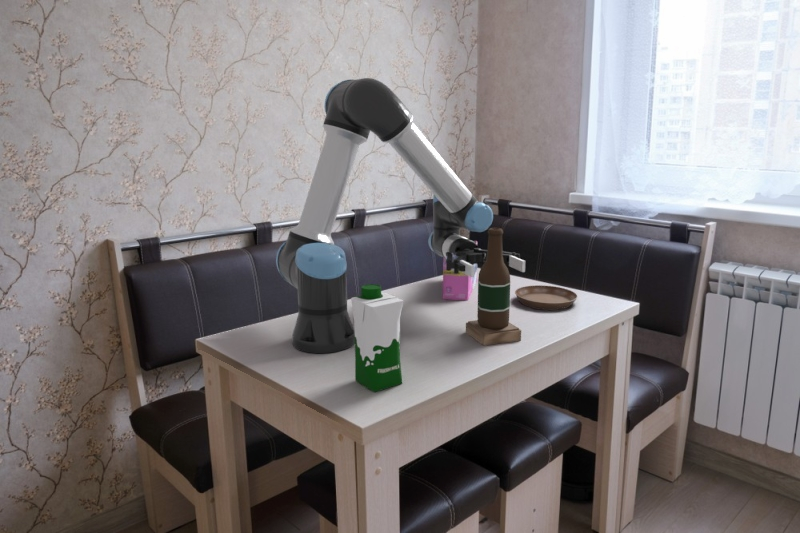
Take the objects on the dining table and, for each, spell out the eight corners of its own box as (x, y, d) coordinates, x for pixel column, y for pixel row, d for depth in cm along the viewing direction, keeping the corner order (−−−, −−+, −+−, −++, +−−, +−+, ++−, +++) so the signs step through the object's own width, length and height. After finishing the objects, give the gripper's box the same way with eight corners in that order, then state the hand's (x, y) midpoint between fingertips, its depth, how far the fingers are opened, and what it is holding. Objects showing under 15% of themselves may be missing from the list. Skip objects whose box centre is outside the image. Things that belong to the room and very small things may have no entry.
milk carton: (383, 370, 137) (382, 280, 132) (408, 384, 130) (408, 290, 125) (349, 380, 132) (346, 287, 127) (373, 395, 125) (371, 298, 120)
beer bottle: (510, 321, 159) (513, 226, 153) (507, 330, 152) (510, 232, 146) (479, 318, 161) (481, 225, 155) (474, 328, 154) (476, 230, 148)
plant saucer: (588, 302, 185) (589, 292, 184) (556, 316, 172) (556, 305, 172) (536, 291, 197) (536, 281, 196) (502, 303, 184) (502, 293, 184)
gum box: (454, 279, 211) (454, 239, 208) (478, 280, 209) (479, 240, 206) (442, 299, 189) (442, 254, 185) (468, 300, 187) (469, 256, 184)
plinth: (484, 345, 151) (484, 333, 150) (465, 332, 160) (465, 321, 159) (520, 340, 154) (521, 328, 153) (500, 327, 163) (501, 316, 162)
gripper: (502, 260, 175) (543, 279, 156) (417, 268, 167) (450, 289, 148) (502, 234, 173) (544, 249, 154) (417, 240, 165) (450, 258, 146)
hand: (498, 269), depth 151 cm, fingers open, 13 cm apart
